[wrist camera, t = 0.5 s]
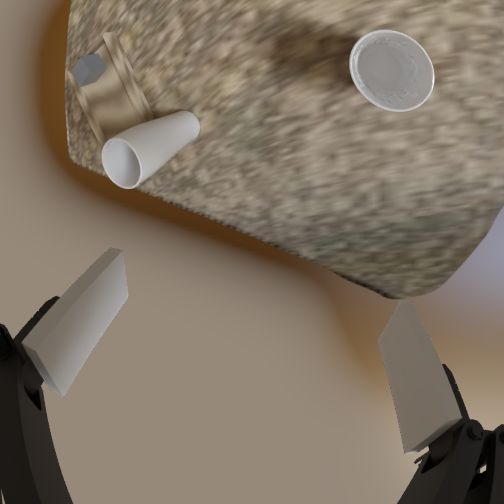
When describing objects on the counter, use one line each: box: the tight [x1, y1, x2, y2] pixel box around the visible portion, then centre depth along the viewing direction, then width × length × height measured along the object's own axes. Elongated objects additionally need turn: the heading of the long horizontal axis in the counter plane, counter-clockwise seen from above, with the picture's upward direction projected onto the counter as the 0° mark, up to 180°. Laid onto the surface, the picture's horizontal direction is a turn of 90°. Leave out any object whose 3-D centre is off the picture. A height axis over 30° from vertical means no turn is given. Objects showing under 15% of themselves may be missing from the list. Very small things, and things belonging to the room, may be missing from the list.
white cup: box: [349, 30, 434, 112], centre depth 21 cm, size 8×8×10 cm
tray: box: [68, 32, 155, 149], centre depth 37 cm, size 20×13×2 cm, turn 23°
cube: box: [71, 53, 107, 87], centre depth 33 cm, size 4×4×4 cm
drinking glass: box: [102, 110, 200, 189], centre depth 33 cm, size 7×7×15 cm
